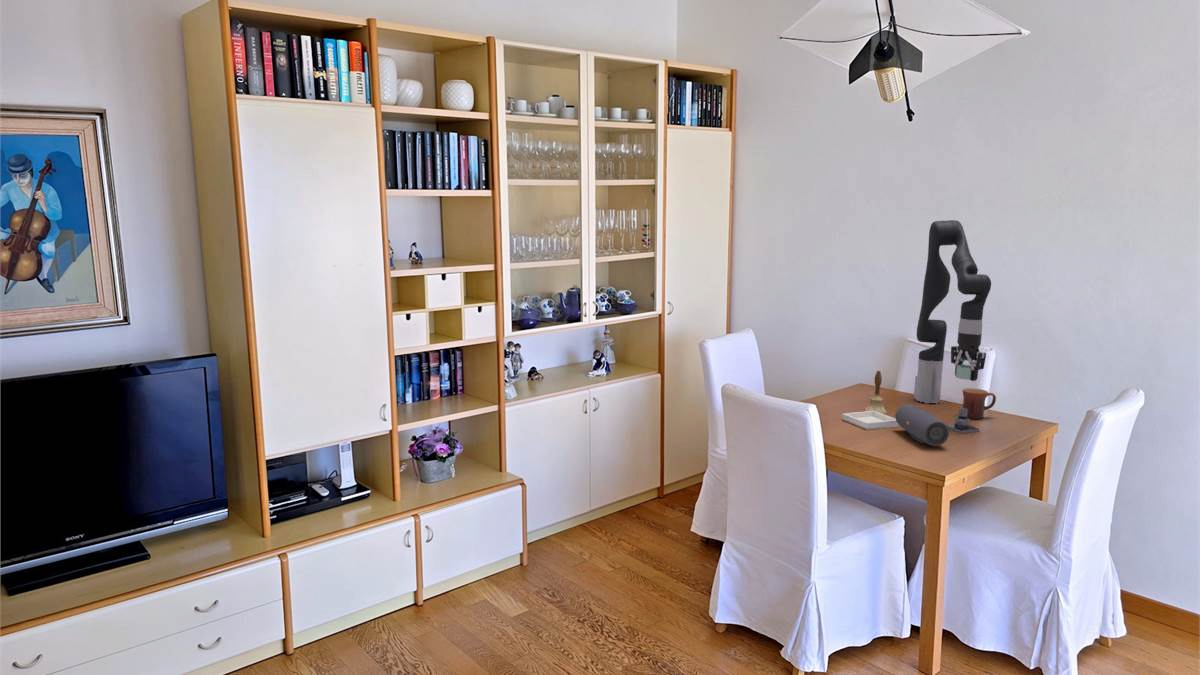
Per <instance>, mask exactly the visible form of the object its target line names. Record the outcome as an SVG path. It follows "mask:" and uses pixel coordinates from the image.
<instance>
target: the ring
mask: <svg viewBox="0 0 1200 675" xmlns="http://www.w3.org/2000/svg"><path fill="white" fill-rule="evenodd" d="M971 370H972V369H971V365H970V364H964V363H963V364H962V365H957V370H956V376H955V378H957V379H960V380H966V381H967V380H968V381H971V380H970V378H971Z"/></svg>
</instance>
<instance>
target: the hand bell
mask: <svg viewBox="0 0 1200 675" xmlns="http://www.w3.org/2000/svg"><path fill="white" fill-rule="evenodd" d="M882 378H883V377H882V373H881V371H880V370H877V371H876V374H875V376H874V386H875V390H874V396H872V397H870V400H869V403H868V405H867V407H866V408H865V409H864V412H865V411H876V412H879V413H881V414H884V415H887V414H888V410H886V408H885V404H884V399H883V398H882V397H881V395H880V394H881V393H880V392H881V391H880V390H881V385H882V380H883V379H882Z"/></svg>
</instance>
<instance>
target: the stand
mask: <svg viewBox="0 0 1200 675" xmlns="http://www.w3.org/2000/svg"><path fill="white" fill-rule="evenodd" d="M967 411H968V409H966V408H963V407H959V408H958V416H956V417H954V423H951V424H950V423H947V424H945V425H946V426H947V427H948V430H949V431H953V432H956V433H958V434H968V433H970V434H971V433H978V432H980V428H978V427H975V426H972V425H970V423H971V422H970V421H971V419H969V418H967Z"/></svg>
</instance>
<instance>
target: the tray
mask: <svg viewBox="0 0 1200 675" xmlns="http://www.w3.org/2000/svg"><path fill="white" fill-rule="evenodd" d="M841 416H842V417H841V418H842V419H841V420H842V421H843V422H846V423H849V424H850V425H853V426H856V427H858V428H861V429H864V430H866V431H870V430H881V429H890V428H896V427H897V428H899V427H900V425H899V424H898V423H897V421H896V418H895V417H892V416H890V415H887V414H881V413H879V412H876V411H865V410H864V411H857V412H856V411H855V412H845V413H842V415H841Z"/></svg>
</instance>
